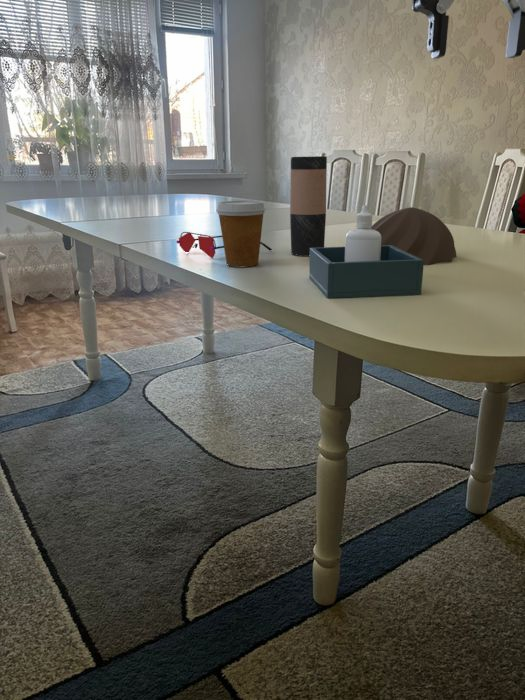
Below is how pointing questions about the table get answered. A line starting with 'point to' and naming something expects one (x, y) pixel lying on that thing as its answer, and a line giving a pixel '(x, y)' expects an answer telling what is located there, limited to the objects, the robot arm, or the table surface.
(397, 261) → the bin
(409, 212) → the decorative dome
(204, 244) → the glasses
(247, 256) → the disposable coffee cup
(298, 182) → the travel mug
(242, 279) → the table surface
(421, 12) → the robot arm
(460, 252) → the table surface
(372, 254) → the eye dropper bottle
